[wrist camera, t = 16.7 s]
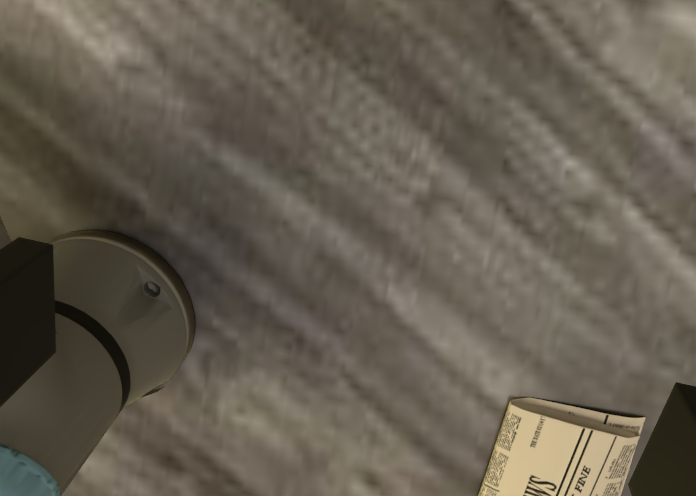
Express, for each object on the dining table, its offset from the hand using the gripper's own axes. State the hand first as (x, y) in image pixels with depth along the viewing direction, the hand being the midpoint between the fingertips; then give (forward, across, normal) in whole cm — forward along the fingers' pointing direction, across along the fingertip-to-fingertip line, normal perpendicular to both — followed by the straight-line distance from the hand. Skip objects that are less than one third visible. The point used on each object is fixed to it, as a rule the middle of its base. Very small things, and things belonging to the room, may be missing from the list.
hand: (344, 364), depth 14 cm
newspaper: (+35, +19, -34) cm, 52 cm away
